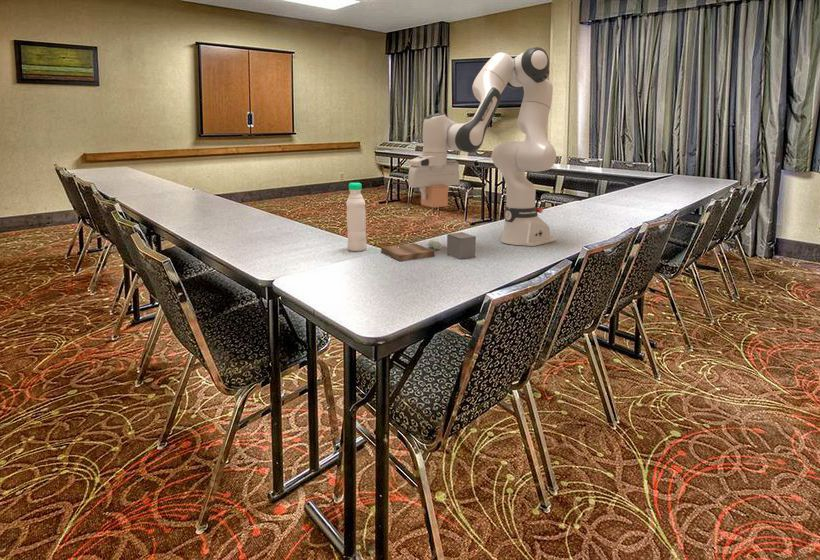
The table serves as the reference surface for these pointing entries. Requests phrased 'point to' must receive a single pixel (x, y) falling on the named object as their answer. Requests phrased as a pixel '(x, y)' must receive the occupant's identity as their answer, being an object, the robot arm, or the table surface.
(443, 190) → the terracotta cover
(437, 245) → the marble
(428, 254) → the walnut board
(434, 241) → the marble
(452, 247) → the charcoal cover
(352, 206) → the water bottle
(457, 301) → the table surface
